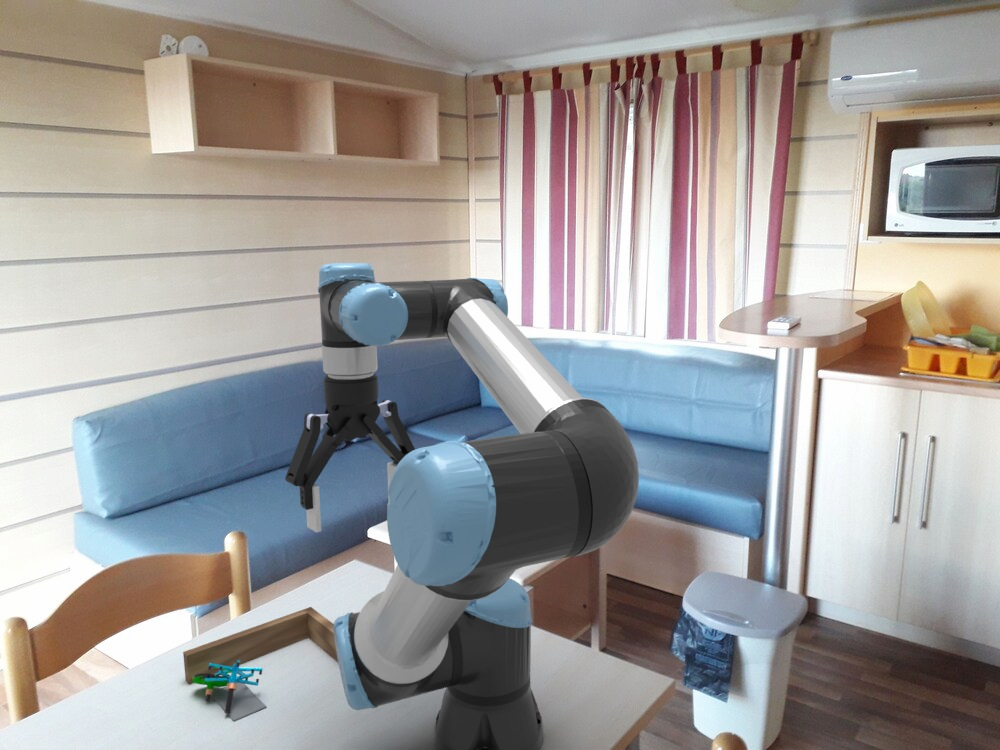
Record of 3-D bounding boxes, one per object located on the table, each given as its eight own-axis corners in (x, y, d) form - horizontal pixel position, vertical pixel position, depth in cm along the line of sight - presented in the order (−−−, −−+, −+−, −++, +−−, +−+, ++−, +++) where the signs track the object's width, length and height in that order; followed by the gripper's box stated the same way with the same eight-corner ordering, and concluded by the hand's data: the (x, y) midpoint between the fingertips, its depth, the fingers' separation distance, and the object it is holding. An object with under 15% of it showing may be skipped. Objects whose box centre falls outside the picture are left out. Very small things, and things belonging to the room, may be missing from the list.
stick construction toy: (274, 665, 119) (236, 651, 114) (267, 713, 115) (227, 701, 110) (216, 680, 124) (178, 667, 118) (208, 726, 120) (167, 715, 114)
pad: (266, 707, 116) (266, 706, 116) (233, 721, 113) (233, 720, 113) (241, 681, 123) (241, 680, 123) (209, 694, 120) (209, 692, 119)
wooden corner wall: (360, 671, 125) (358, 642, 124) (226, 729, 111) (224, 697, 110) (312, 633, 137) (310, 606, 136) (185, 681, 123) (183, 652, 122)
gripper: (408, 360, 120) (412, 491, 124) (254, 382, 104) (264, 531, 108) (437, 366, 115) (440, 503, 119) (279, 390, 99) (289, 548, 103)
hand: (356, 517), depth 114 cm, fingers open, 13 cm apart
